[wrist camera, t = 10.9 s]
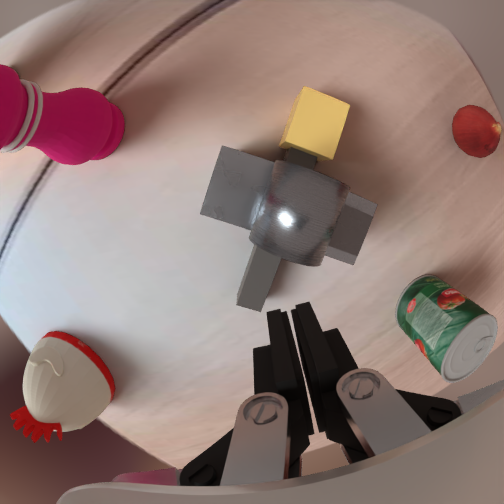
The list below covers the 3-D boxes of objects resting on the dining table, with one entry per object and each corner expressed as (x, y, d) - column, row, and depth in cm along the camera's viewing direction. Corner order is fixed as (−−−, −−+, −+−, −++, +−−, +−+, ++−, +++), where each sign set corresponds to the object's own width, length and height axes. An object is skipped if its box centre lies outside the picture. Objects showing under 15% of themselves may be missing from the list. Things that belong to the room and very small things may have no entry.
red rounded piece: (476, 136, 23) (520, 135, 15) (458, 166, 24) (505, 170, 17) (450, 100, 22) (494, 90, 14) (431, 129, 23) (478, 123, 16)
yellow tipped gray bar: (229, 291, 28) (226, 312, 24) (295, 99, 23) (304, 85, 18) (267, 302, 28) (270, 324, 24) (333, 115, 23) (350, 105, 19)
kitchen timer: (32, 320, 30) (-28, 376, 15) (107, 345, 30) (52, 427, 16) (53, 387, 33) (13, 444, 19) (121, 412, 34) (90, 485, 20)
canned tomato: (391, 337, 30) (433, 393, 20) (397, 280, 28) (453, 327, 17) (439, 323, 30) (484, 368, 19) (447, 269, 28) (505, 306, 17)
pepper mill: (117, 85, 22) (-27, 16, 3) (139, 142, 24) (-34, 115, 5) (66, 122, 23) (-82, 108, 3) (85, 177, 24) (-79, 207, 5)
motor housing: (212, 203, 26) (184, 227, 14) (229, 152, 24) (213, 136, 13) (329, 243, 27) (379, 290, 16) (347, 196, 25) (410, 214, 14)
